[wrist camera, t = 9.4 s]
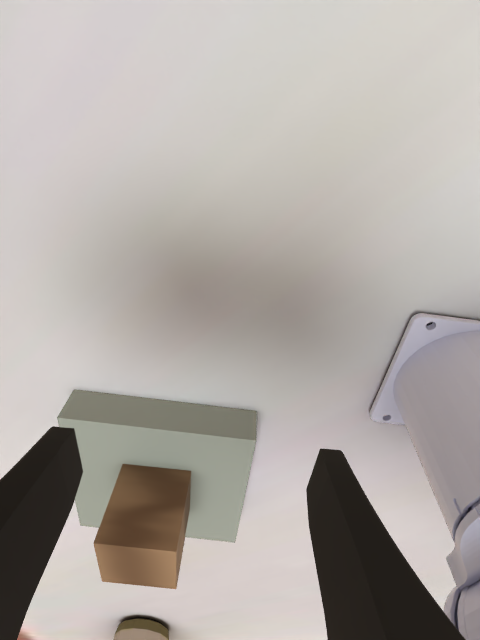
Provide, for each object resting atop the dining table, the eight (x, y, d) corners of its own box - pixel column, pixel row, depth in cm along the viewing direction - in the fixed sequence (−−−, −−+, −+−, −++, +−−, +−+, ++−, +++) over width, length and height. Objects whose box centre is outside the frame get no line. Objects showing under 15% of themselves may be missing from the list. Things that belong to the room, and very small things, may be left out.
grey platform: (256, 404, 25) (256, 440, 23) (237, 505, 32) (235, 542, 29) (77, 383, 25) (57, 417, 22) (95, 489, 31) (80, 525, 29)
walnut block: (191, 470, 24) (176, 551, 20) (189, 509, 27) (176, 589, 23) (122, 463, 24) (93, 543, 20) (127, 503, 27) (102, 581, 23)
